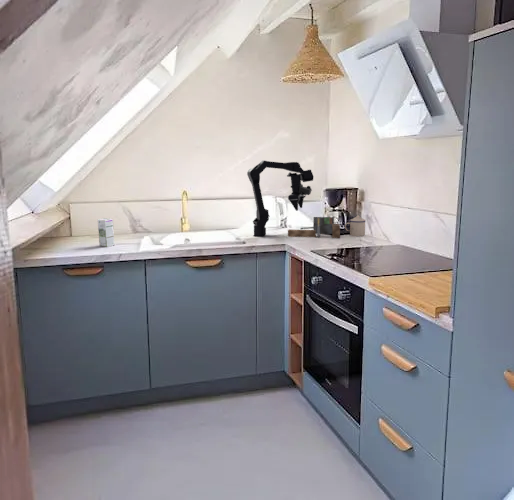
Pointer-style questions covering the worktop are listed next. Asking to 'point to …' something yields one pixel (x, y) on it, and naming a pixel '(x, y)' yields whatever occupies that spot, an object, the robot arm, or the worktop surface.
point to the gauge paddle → (318, 229)
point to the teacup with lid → (357, 226)
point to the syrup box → (106, 232)
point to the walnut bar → (301, 233)
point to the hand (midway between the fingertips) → (299, 209)
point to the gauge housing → (327, 226)
